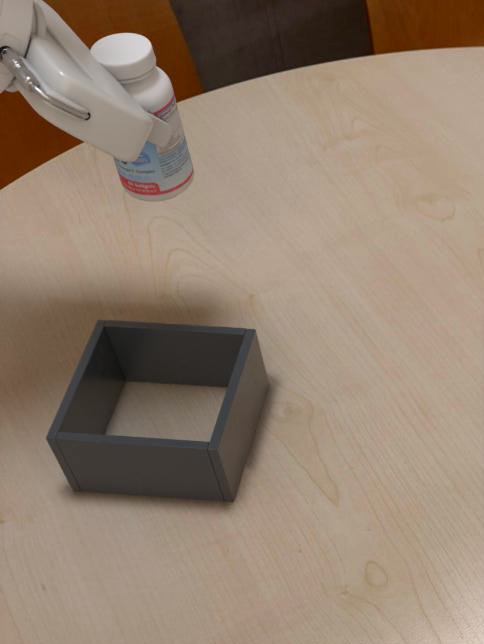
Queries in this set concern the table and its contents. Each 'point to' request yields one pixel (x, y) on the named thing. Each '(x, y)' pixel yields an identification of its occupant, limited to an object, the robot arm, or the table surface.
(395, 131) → the table surface
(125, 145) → the robot arm
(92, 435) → the open box
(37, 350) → the table surface
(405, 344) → the table surface
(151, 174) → the pill bottle
